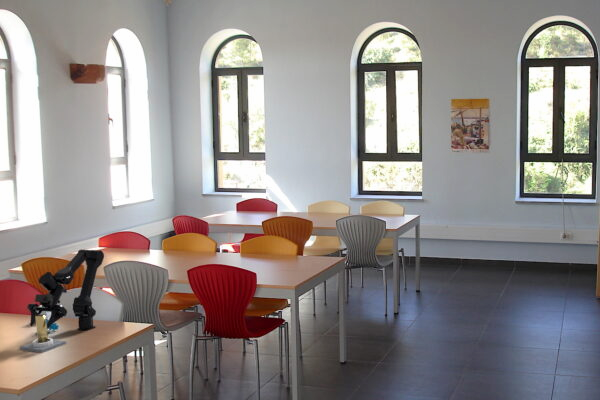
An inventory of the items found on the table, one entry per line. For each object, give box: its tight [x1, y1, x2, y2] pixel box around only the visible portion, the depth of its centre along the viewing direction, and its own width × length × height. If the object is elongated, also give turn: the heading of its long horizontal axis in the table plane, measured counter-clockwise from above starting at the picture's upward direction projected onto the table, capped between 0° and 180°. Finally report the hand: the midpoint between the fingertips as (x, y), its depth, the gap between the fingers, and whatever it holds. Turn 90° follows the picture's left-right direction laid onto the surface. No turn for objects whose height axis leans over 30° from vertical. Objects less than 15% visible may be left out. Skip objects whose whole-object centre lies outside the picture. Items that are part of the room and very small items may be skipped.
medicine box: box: [39, 304, 51, 321], centre depth 392 cm, size 8×4×9 cm, turn 172°
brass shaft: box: [35, 314, 49, 343], centre depth 346 cm, size 4×4×13 cm
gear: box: [46, 319, 60, 331], centre depth 370 cm, size 11×6×10 cm
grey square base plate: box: [19, 337, 67, 353], centre depth 347 cm, size 14×14×3 cm
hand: (39, 326), depth 345 cm, fingers open, 9 cm apart
